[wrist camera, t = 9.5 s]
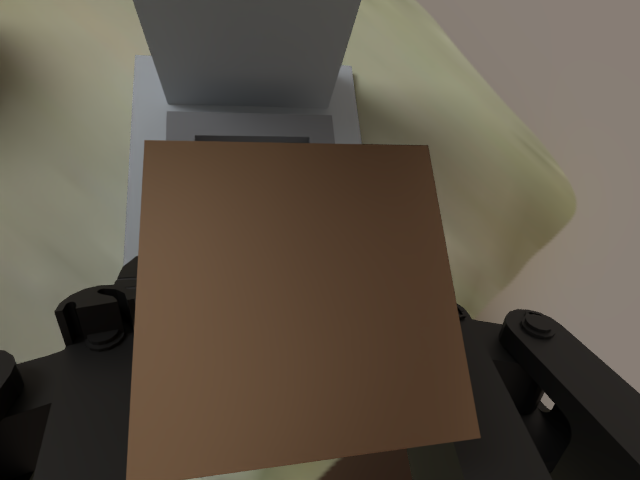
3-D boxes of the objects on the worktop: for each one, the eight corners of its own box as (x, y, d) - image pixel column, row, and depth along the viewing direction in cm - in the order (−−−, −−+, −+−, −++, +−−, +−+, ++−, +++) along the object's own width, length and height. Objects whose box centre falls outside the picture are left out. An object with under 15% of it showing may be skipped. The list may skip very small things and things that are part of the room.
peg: (219, 389, 15) (125, 487, 4) (218, 290, 16) (144, 140, 5) (317, 379, 16) (480, 437, 5) (310, 285, 17) (428, 145, 6)
